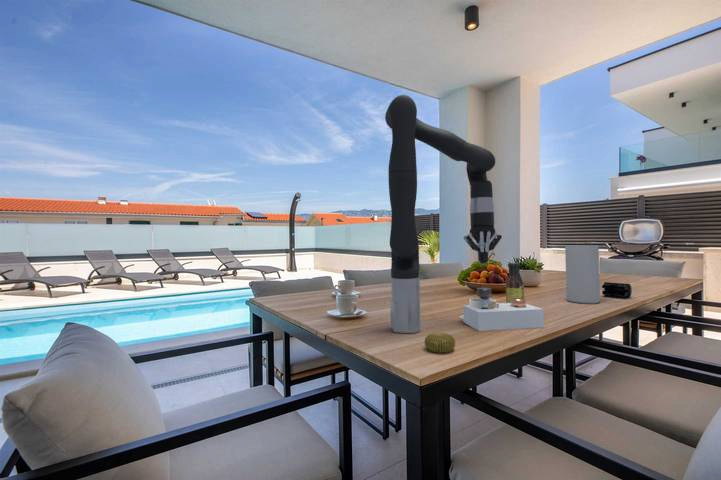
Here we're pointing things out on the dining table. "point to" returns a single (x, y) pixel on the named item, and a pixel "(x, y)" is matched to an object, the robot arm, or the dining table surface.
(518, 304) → the knob right
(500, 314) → the mount
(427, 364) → the dining table surface
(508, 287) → the sauce bottle
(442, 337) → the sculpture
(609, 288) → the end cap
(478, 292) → the knob left
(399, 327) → the robot arm
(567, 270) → the cylinder vase
